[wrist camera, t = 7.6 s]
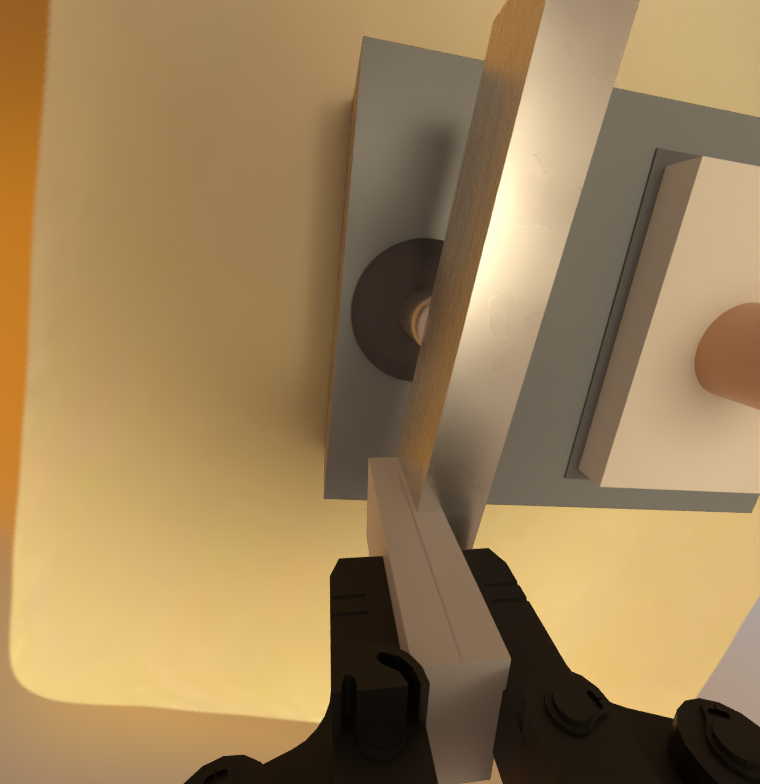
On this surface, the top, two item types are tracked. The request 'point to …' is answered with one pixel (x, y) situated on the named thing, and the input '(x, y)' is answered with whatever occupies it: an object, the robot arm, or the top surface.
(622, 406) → the cover
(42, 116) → the top surface
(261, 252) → the top surface
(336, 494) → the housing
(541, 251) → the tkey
